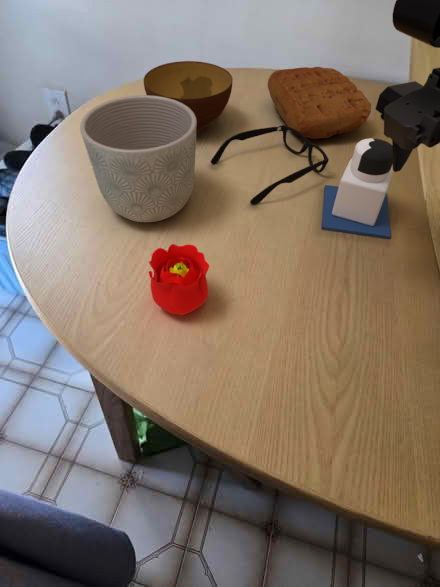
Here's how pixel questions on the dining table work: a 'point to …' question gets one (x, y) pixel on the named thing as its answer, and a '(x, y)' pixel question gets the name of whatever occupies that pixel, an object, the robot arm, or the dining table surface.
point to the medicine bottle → (365, 182)
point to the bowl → (192, 87)
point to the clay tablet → (318, 101)
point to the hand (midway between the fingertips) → (418, 189)
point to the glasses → (284, 129)
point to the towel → (349, 226)
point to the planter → (142, 154)
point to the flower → (179, 278)
